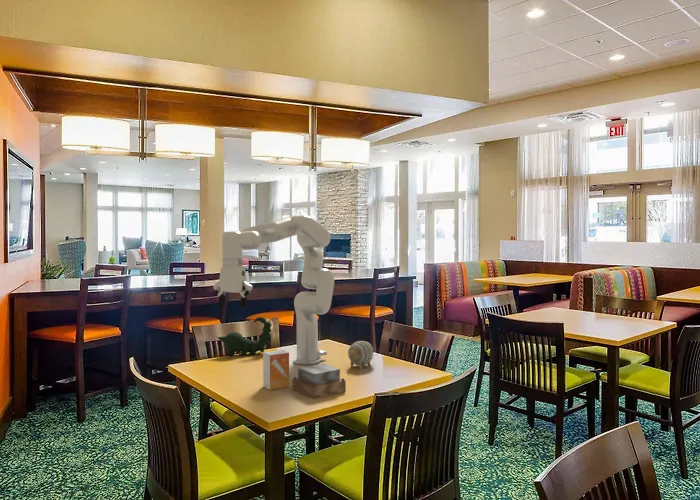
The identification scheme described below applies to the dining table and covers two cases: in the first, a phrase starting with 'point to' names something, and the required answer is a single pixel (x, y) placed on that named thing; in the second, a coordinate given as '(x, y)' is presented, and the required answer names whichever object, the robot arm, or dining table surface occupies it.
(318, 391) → the grey and wooden block
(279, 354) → the small box
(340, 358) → the dining table surface
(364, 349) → the toy sheep
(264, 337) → the toy figurine
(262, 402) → the dining table surface
